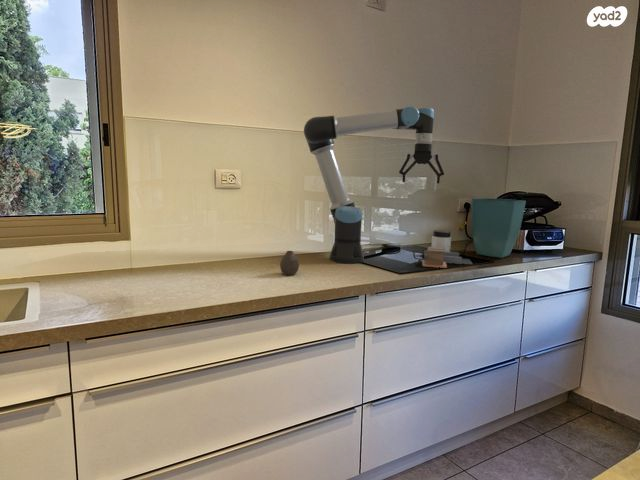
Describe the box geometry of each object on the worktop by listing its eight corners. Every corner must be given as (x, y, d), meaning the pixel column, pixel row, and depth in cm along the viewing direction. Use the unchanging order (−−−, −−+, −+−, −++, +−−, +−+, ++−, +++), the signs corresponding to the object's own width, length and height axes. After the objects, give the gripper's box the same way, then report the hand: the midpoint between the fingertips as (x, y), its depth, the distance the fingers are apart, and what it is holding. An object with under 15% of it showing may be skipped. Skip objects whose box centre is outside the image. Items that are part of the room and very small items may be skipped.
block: (426, 260, 188) (427, 247, 187) (443, 261, 186) (444, 248, 185) (426, 263, 179) (427, 250, 178) (442, 265, 177) (444, 251, 176)
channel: (424, 261, 189) (424, 254, 188) (423, 256, 200) (424, 250, 200) (461, 264, 185) (461, 257, 185) (458, 259, 197) (459, 252, 197)
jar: (443, 257, 199) (445, 232, 198) (428, 254, 205) (429, 230, 203) (452, 255, 206) (454, 231, 204) (437, 253, 211) (439, 229, 210)
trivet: (422, 266, 178) (422, 264, 178) (422, 261, 188) (422, 260, 187) (446, 268, 176) (447, 266, 176) (445, 263, 185) (445, 261, 185)
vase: (277, 272, 157) (278, 250, 155) (294, 271, 159) (295, 249, 158) (283, 277, 150) (284, 253, 149) (301, 276, 153) (302, 252, 152)
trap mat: (462, 264, 185) (462, 263, 185) (459, 259, 197) (459, 258, 197) (472, 264, 184) (472, 264, 184) (469, 259, 196) (469, 259, 196)
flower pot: (520, 255, 212) (526, 200, 208) (507, 260, 197) (514, 201, 193) (481, 250, 225) (486, 197, 221) (466, 254, 210) (471, 198, 206)
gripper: (395, 142, 189) (392, 189, 193) (452, 143, 184) (448, 191, 187) (396, 143, 197) (393, 188, 200) (451, 144, 191) (447, 191, 194)
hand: (420, 190), depth 194 cm, fingers open, 13 cm apart
